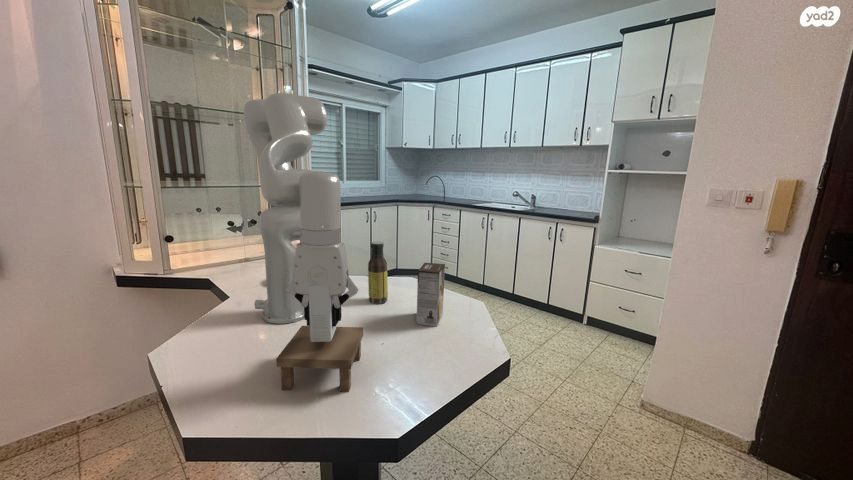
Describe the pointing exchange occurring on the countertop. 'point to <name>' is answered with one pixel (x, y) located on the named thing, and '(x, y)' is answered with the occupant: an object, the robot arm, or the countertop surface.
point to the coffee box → (430, 294)
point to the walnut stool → (321, 354)
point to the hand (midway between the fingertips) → (323, 322)
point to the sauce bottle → (377, 275)
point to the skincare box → (320, 313)
